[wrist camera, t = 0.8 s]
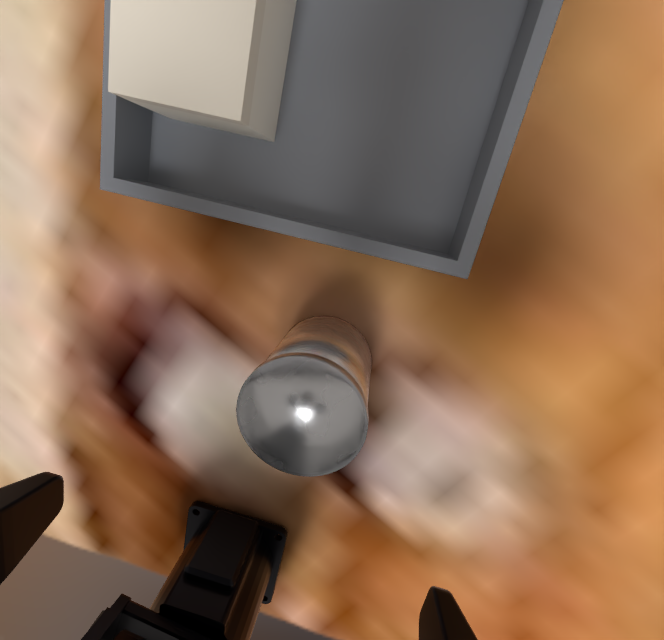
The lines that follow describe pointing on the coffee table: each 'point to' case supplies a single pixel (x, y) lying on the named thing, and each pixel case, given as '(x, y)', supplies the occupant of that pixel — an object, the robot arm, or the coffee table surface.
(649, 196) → the coffee table surface
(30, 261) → the coffee table surface
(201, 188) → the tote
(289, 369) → the steel tin
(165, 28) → the beige rectangular block
